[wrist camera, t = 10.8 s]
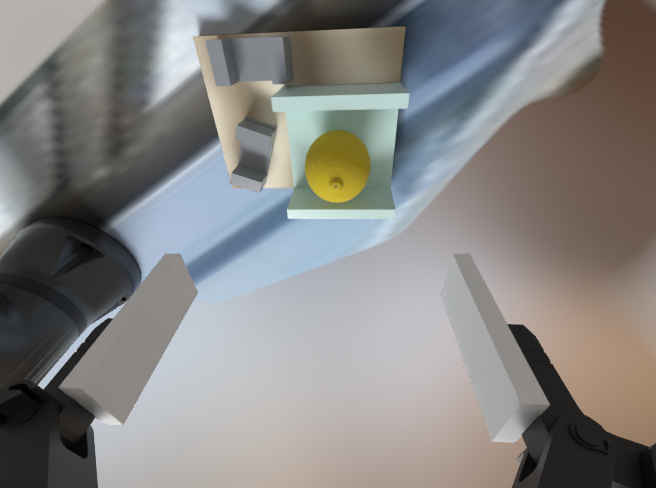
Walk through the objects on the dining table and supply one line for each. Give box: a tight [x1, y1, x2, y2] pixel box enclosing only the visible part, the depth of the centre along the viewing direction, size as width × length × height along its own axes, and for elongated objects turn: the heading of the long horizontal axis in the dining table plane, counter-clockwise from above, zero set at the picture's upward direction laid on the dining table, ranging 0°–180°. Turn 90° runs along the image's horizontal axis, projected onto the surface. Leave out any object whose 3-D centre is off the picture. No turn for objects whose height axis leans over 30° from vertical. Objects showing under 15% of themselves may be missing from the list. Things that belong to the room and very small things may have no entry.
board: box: [193, 26, 406, 188], centre depth 27 cm, size 17×14×1 cm
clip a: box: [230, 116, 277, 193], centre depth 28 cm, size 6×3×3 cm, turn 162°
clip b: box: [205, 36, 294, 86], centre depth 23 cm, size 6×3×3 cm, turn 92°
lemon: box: [305, 130, 371, 203], centre depth 24 cm, size 6×6×8 cm
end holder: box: [271, 82, 409, 219], centre depth 26 cm, size 10×10×5 cm
